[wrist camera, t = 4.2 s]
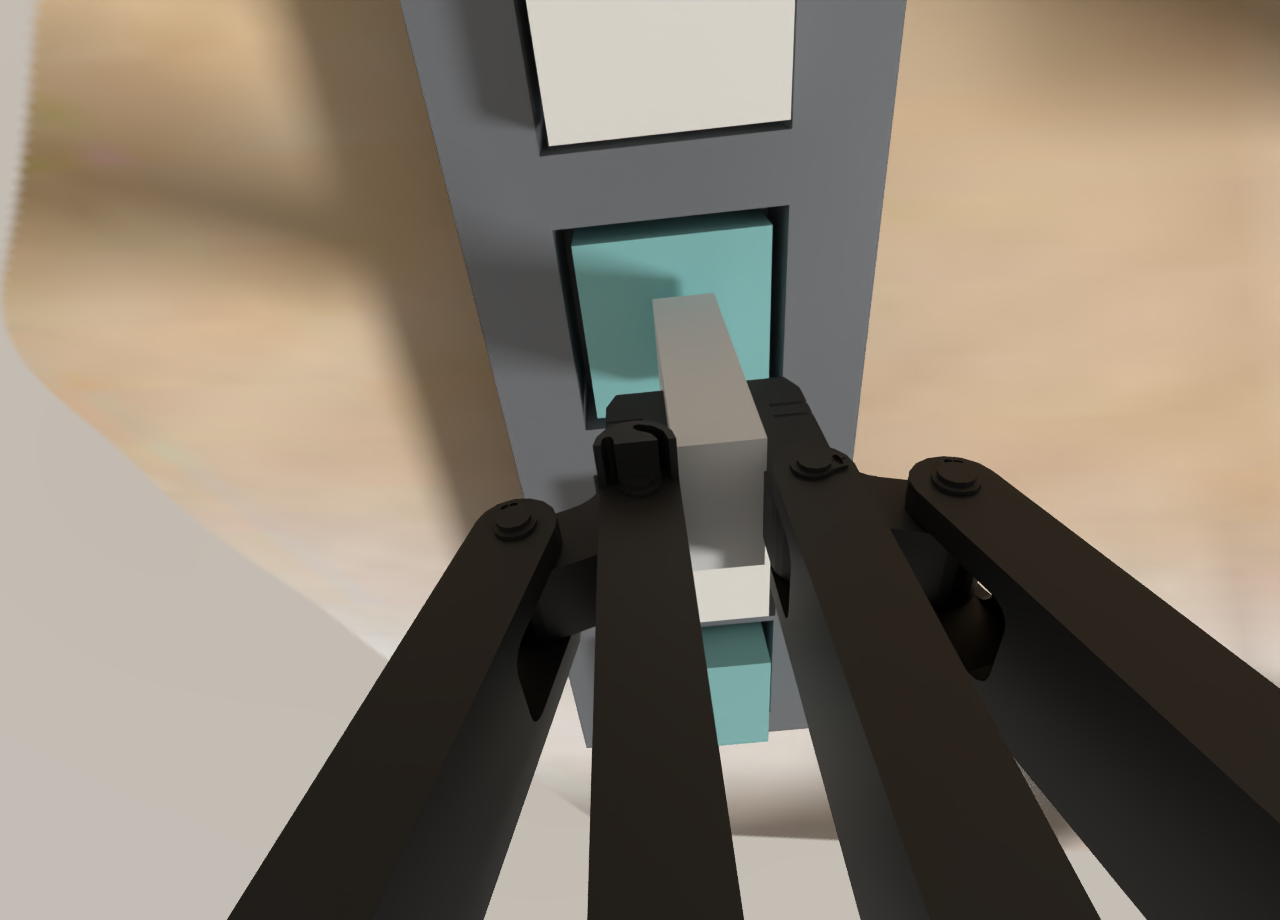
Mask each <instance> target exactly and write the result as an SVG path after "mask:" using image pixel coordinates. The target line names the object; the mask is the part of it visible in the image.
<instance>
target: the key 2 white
mask: <svg viewBox="0 0 1280 920" xmlns="http://www.w3.org/2000/svg"><path fill="white" fill-rule="evenodd" d="M693 576H694V583H695V590H696V597H697V604H698V610H699V617H700V622H710V621H720V620H731V619H742V618H752V617H763V616H769V589H770V560H769V557H768V553H767V550H766V546H765V565H755V566H744V567H733V568H722V569H711V570H700V571H693Z"/></svg>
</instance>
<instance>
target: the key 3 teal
mask: <svg viewBox="0 0 1280 920" xmlns="http://www.w3.org/2000/svg"><path fill="white" fill-rule="evenodd" d="M772 226H773V225H772V224H771V222H770V221H769V220H768V219H767V217H766V216H765V215H764V213H763V212H762V211H761V210H760V208H756V209H747V210H738V211H728V212H719V213H710V214H700V215H691V216H682V217H672V218H663V219H654V220H644V221H635V222H626V223H616V224H607V225H598V226H588V227H579V228H574V233H573V239H572V245H571V248H572V255H573V261H574V268H575V274H576V281H577V287H578V294H579V300H580V307H581V313H582V320H583V326H584V333H585V339H586V346H587V352H588V359H589V366H590V372H591V379H592V385H593V392H594V398H595V405H596V411H597V418H606V407H607V406H608V405H609V404H610V402H611V401H612V400H613V398H614V397H615V396H616V395H621V394H631V393H642V392H652V391H660V385H659V373H658V361H657V350H656V338H655V326H654V315H653V303H652V299H658V298H668V297H678V296H688V295H697V294H707V293H714V295H715V297H716V300H717V303H718V306H719V308H720V311H721V314H722V316H723V319H724V322H725V325H726V327H727V330H728V333H729V335H730V338H731V341H732V344H733V346H734V349H735V352H736V354H737V357H738V360H739V363H740V365H741V368H742V371H743V373H744V376H745V379H746V380H755V379H765V378H769V352H770V310H771V268H772Z"/></svg>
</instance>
